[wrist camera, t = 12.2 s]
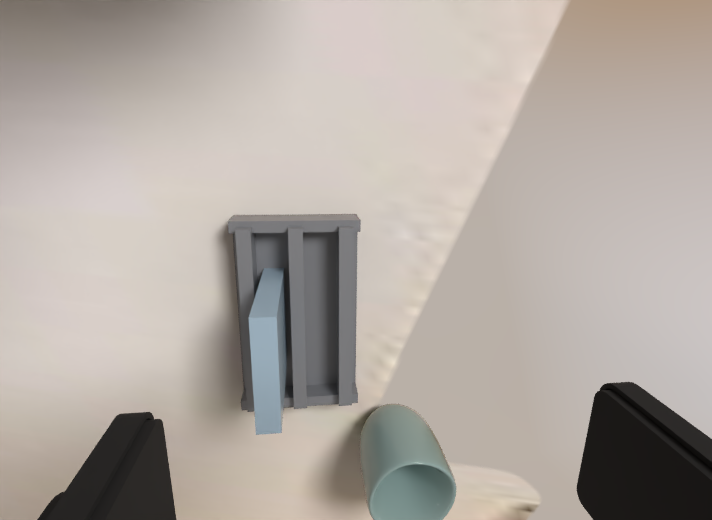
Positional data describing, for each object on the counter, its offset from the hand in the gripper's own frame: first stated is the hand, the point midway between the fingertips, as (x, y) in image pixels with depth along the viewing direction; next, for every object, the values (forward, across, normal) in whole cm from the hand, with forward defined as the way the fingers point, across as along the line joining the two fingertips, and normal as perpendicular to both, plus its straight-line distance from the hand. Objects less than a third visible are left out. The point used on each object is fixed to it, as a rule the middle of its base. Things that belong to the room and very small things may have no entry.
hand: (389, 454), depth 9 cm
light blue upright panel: (+29, +5, +9) cm, 31 cm away
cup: (+31, -7, +23) cm, 39 cm away
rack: (+30, +2, +9) cm, 32 cm away
